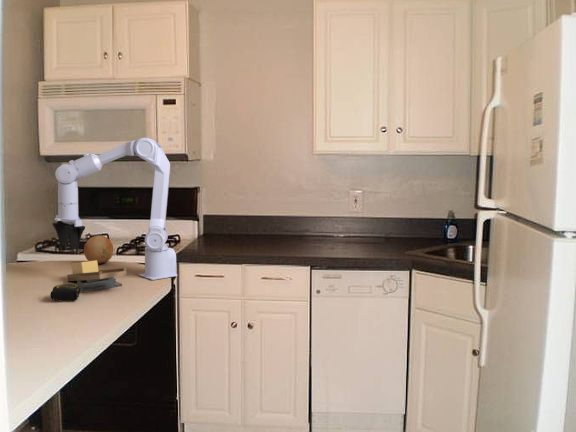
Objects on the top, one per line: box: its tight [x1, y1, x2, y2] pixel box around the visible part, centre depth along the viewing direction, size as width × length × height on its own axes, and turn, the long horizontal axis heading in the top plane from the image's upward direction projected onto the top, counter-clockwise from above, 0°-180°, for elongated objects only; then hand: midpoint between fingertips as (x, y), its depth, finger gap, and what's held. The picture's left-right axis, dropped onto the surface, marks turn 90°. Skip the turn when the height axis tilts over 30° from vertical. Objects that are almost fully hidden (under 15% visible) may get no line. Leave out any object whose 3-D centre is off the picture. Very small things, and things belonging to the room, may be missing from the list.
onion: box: [83, 235, 114, 265], centre depth 186 cm, size 10×10×10 cm
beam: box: [67, 267, 128, 282], centre depth 156 cm, size 8×22×3 cm, turn 45°
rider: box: [71, 260, 99, 274], centre depth 162 cm, size 5×8×4 cm, turn 45°
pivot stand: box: [75, 277, 123, 293], centre depth 157 cm, size 12×8×2 cm, turn 135°
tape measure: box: [50, 283, 81, 302], centre depth 143 cm, size 7×7×4 cm
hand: (69, 246), depth 166 cm, fingers open, 7 cm apart
